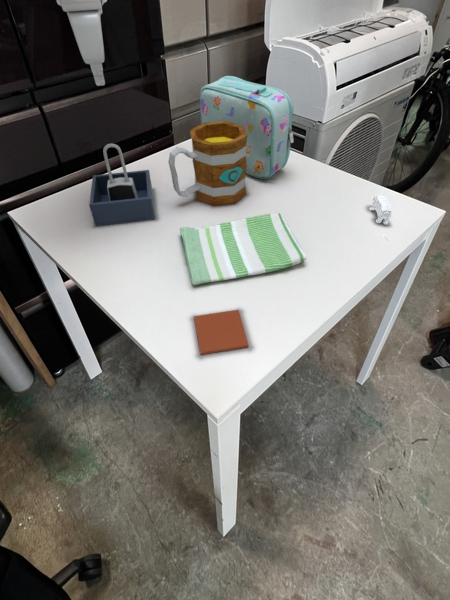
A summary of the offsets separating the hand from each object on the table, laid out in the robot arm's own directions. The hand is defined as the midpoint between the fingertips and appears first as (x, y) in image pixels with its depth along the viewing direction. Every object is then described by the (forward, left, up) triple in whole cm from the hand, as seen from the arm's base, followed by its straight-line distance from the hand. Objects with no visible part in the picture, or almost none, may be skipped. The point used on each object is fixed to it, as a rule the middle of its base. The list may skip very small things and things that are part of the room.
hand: (99, 77), depth 76 cm
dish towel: (+24, -29, -27) cm, 46 cm away
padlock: (0, -7, -26) cm, 27 cm away
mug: (+21, -6, -27) cm, 34 cm away
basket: (0, -7, -26) cm, 27 cm away
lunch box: (+33, +8, -27) cm, 43 cm away
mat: (+16, -50, -26) cm, 58 cm away
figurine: (+58, -23, -27) cm, 68 cm away
